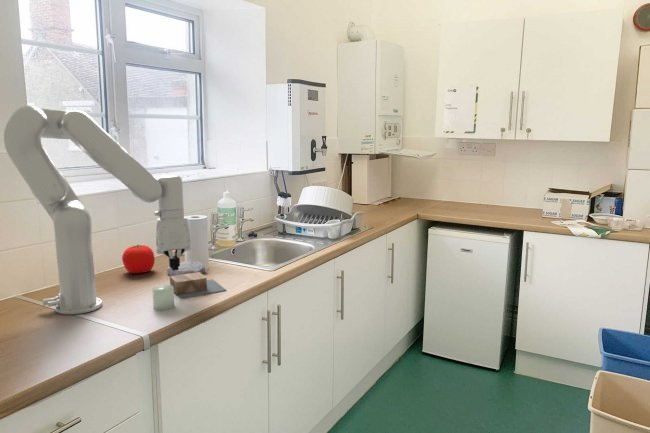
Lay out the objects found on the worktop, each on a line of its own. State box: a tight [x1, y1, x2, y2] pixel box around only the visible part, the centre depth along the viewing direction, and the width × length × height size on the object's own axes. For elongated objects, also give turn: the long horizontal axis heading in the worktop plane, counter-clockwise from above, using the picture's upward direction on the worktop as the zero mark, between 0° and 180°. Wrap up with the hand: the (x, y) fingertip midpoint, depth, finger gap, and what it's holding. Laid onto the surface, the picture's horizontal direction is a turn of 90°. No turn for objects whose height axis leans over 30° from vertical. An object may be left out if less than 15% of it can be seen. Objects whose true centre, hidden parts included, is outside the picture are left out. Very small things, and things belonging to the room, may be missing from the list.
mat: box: [176, 278, 227, 299], centre depth 167 cm, size 15×14×1 cm
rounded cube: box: [152, 284, 175, 311], centre depth 150 cm, size 6×6×6 cm
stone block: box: [166, 260, 206, 276], centre depth 185 cm, size 12×5×10 cm
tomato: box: [121, 244, 156, 274], centre depth 185 cm, size 11×12×10 cm
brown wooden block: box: [169, 272, 208, 295], centre depth 165 cm, size 4×8×10 cm
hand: (174, 269), depth 162 cm, fingers closed
